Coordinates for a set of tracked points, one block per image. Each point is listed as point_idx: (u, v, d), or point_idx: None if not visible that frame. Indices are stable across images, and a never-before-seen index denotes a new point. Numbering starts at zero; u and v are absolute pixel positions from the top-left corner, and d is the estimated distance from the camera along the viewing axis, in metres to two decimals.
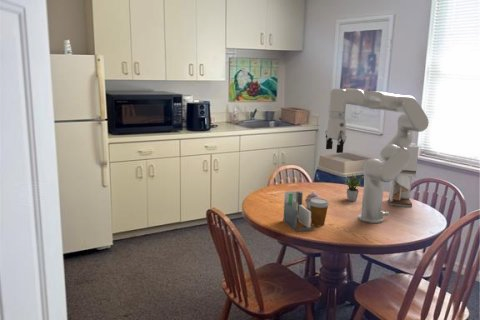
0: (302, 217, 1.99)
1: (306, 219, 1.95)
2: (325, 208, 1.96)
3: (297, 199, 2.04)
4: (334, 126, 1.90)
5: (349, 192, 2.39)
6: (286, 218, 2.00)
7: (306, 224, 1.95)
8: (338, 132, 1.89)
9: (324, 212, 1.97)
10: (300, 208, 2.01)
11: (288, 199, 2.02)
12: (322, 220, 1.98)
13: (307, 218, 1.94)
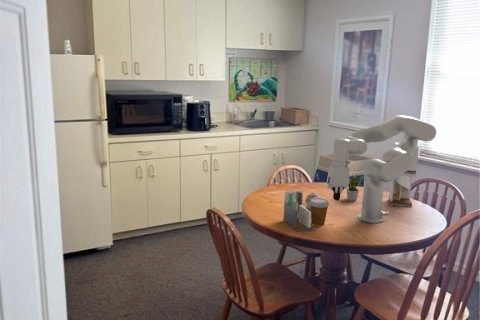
0: (302, 217, 1.99)
1: (306, 219, 1.95)
2: (325, 208, 1.96)
3: (297, 199, 2.04)
4: (346, 174, 1.98)
5: (349, 192, 2.39)
6: (286, 218, 2.00)
7: (306, 224, 1.95)
8: None
9: (324, 212, 1.97)
10: (300, 208, 2.01)
11: (288, 199, 2.02)
12: (322, 220, 1.98)
13: (307, 218, 1.94)
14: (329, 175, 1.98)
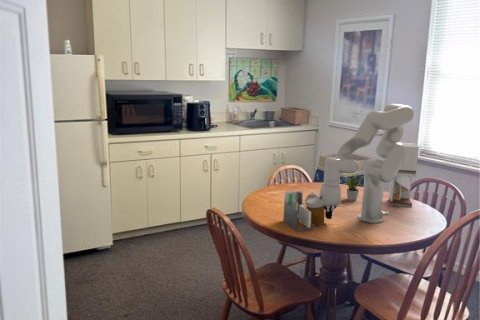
0: (302, 217, 1.99)
1: (306, 219, 1.95)
2: (322, 207, 1.96)
3: (297, 199, 2.04)
4: (338, 193, 1.98)
5: (349, 192, 2.39)
6: (286, 218, 2.00)
7: (306, 224, 1.95)
8: None
9: (322, 211, 1.96)
10: (300, 208, 2.01)
11: (288, 199, 2.02)
12: (321, 219, 1.98)
13: (307, 218, 1.94)
14: (321, 194, 1.99)
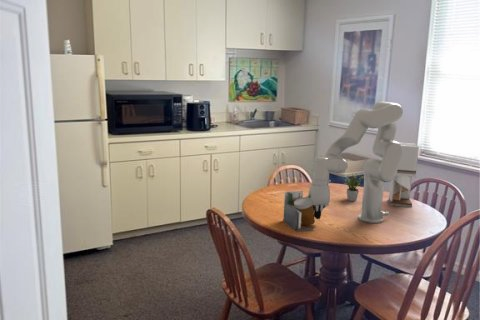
0: None
1: None
2: (310, 207, 1.94)
3: None
4: (327, 192, 1.97)
5: (349, 192, 2.39)
6: (286, 218, 2.00)
7: None
8: None
9: (310, 211, 1.95)
10: None
11: (288, 199, 2.02)
12: (311, 219, 1.96)
13: (297, 219, 1.93)
14: (309, 193, 1.97)
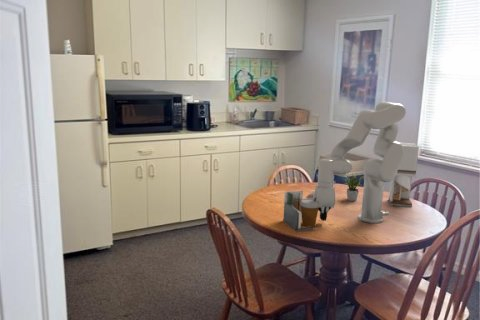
0: None
1: None
2: (316, 209, 1.95)
3: (297, 199, 2.04)
4: (332, 194, 1.98)
5: (349, 192, 2.39)
6: (286, 218, 2.00)
7: None
8: None
9: (315, 213, 1.95)
10: None
11: (288, 199, 2.02)
12: (313, 221, 1.96)
13: (297, 219, 1.93)
14: (315, 196, 1.98)
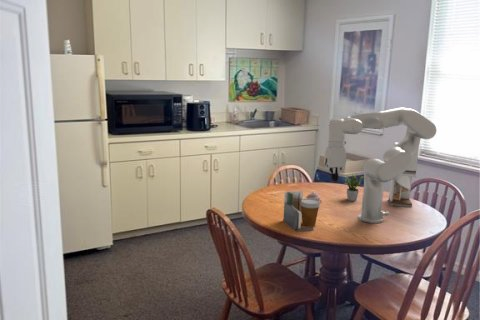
0: None
1: None
2: (316, 209, 1.95)
3: (297, 199, 2.04)
4: (343, 154, 1.98)
5: (349, 192, 2.39)
6: (286, 218, 2.00)
7: None
8: None
9: (315, 213, 1.95)
10: None
11: (288, 199, 2.02)
12: (313, 221, 1.96)
13: (297, 219, 1.93)
14: (326, 156, 1.98)
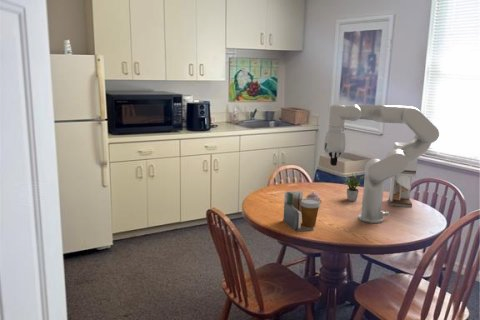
0: None
1: None
2: (316, 209, 1.95)
3: (297, 199, 2.04)
4: (342, 139, 2.04)
5: (349, 192, 2.39)
6: (286, 218, 2.00)
7: None
8: None
9: (315, 213, 1.95)
10: None
11: (288, 199, 2.02)
12: (313, 221, 1.96)
13: (297, 219, 1.93)
14: (326, 141, 2.05)
